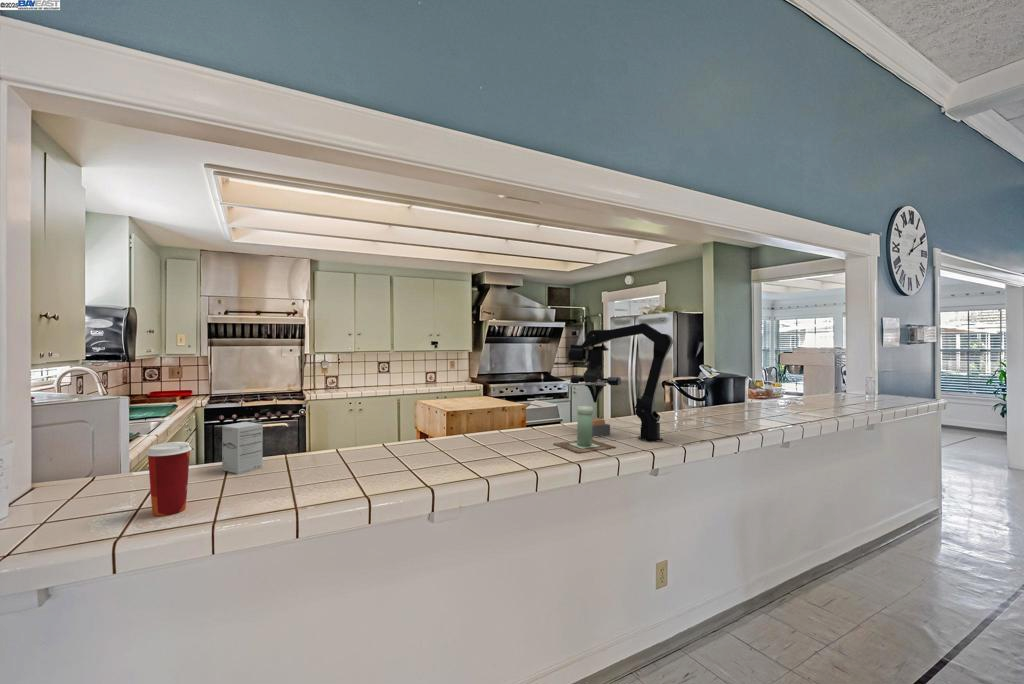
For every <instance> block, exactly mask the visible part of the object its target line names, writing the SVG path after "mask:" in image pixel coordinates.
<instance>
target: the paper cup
mask: <svg viewBox="0 0 1024 684" xmlns="http://www.w3.org/2000/svg"><path fill="white" fill-rule="evenodd" d="M192 449H193V448H192V447H191V446H190V443H189V442H187V441H171V442H170V441H169V442H163V443H162V442H161V443H158V444H154V445H150V447H149V448H148V451H147V452H146V453H145V455H146V456H147V458H148V473H149V488H150V499H151V500H150V501H151V511H152V515H153V516H155V517H166V516H167V517H168V516H172V515H177V514H179V513H182V512H184V511H185V510H186V508H187V498H188V497H187V496H188V485H189V484H188V483H189V471H190V469H189V467H190V455H191V453H190V452H191V451H192Z"/></svg>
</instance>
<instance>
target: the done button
mask: <svg viewBox="0 0 1024 684" xmlns="http://www.w3.org/2000/svg"><path fill="white" fill-rule="evenodd" d="M605 424H606V420H605V418H604V419H603V418H599V417H592V425H593V426H597V425H605Z"/></svg>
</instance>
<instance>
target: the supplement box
mask: <svg viewBox="0 0 1024 684" xmlns="http://www.w3.org/2000/svg"><path fill="white" fill-rule="evenodd" d="M263 427H264V425H263V423H258V422H257V423H256V422H251V421H250V422H249V421H241V422H236V423H230V424H224V425H222V437H221V438H222V439H221V440H222V443H221V444H222V445H221V448H222V449H221V455H222V457H221V458H222V459H221V460H222V461H221V462H222V463H221V470H222V471H226V472H229V473H233V474H237V475H240V474H244V473H247V472H251V471H255V470H259V468H260V469H262V468H263V433H264V432H263V431H264V429H263Z"/></svg>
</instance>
